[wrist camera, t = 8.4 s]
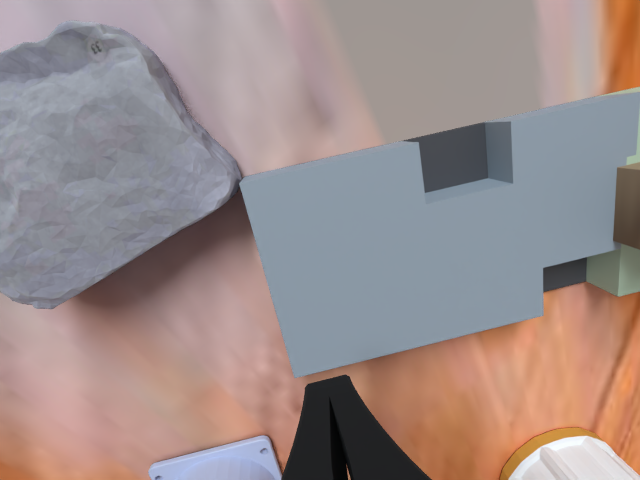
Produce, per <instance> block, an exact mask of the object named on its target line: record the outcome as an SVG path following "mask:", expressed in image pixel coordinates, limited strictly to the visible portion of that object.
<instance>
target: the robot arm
mask: <svg viewBox="0 0 640 480" xmlns="http://www.w3.org/2000/svg"><path fill="white" fill-rule="evenodd" d="M263 448H266V449H263ZM346 464H347V466H346ZM347 468H348V471H349V474H350V478H351V480H432V479H430V478H429V477H428V476H427V475H426V474H425V473H424V472H423V471H422V470H421V469H420V468H419V467H418V466H417V465H416V464H415V463H414V462H413V461H412V460H411V459H410V458H409V457H408V456H407V455H406V454H405V453H404V452H403V451H402V450H401V448H400V447H399V446H398V445H397V444H396V443H395V442H394V441H393V439H392V438H391V437H390V436H389V435H388V434H387V432H386V431H385V430H384V429H383V428H382V426H381V425H380V424H379V423H378V421H377V420H376V419H375V417H374V416H373V415H372V413H371V412H370V411H369V409H368V408H367V407H366V405H365V404H364V402H363V401H362V399H361V398H360V396H359V394H358V393H357V391H356V389H355V388H354V386H353V384H352V382H351V379H350V377H349V376H347V375H342V376H338V377H334V378H330V379H326V380H322V381H318V382H314V383H310V384H308V385H307V386H306V387H305V395H304V401H303V407H302V412H301V416H300V421H299V424H298V428H297V432H296V435H295V439H294V443H293V446H292V449H291V452H290V455H289V458H288V461H287V464H286V467H285V470H284V473H283V476H282V474H281V471H280V468H279V465H278V462H277V459H276V456H275V453H274V450H273V447H272V444H271V441H270V439H269V437H267V436H264V435H262V436H258V437H254V438H250V439H246V440H242V441H238V442H234V443H230V444H226V445H223V446H219V447H215V448H211V449H207V450H203V451H199V452H195V453H191V454H188V455H184V456H180V457H176V458H172V459H168V460H164V461H160V462H156V463H154V464H152V465H151V467H150V469H149V472H148V473H149V476H150V478H151V480H348V474H347Z"/></svg>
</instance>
